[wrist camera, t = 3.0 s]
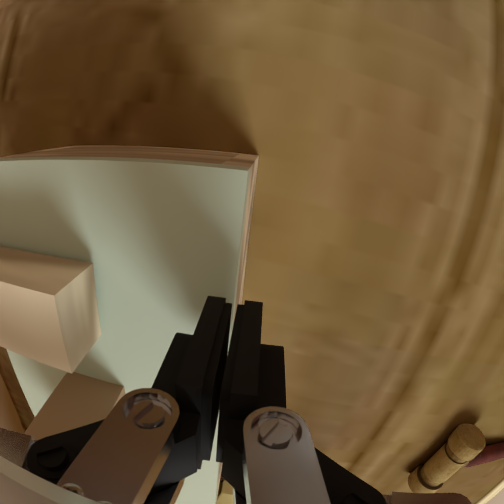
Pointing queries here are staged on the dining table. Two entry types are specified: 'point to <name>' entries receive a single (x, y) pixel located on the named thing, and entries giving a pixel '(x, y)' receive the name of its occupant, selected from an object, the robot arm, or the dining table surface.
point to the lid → (126, 272)
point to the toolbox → (178, 155)
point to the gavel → (454, 458)
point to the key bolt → (47, 307)
